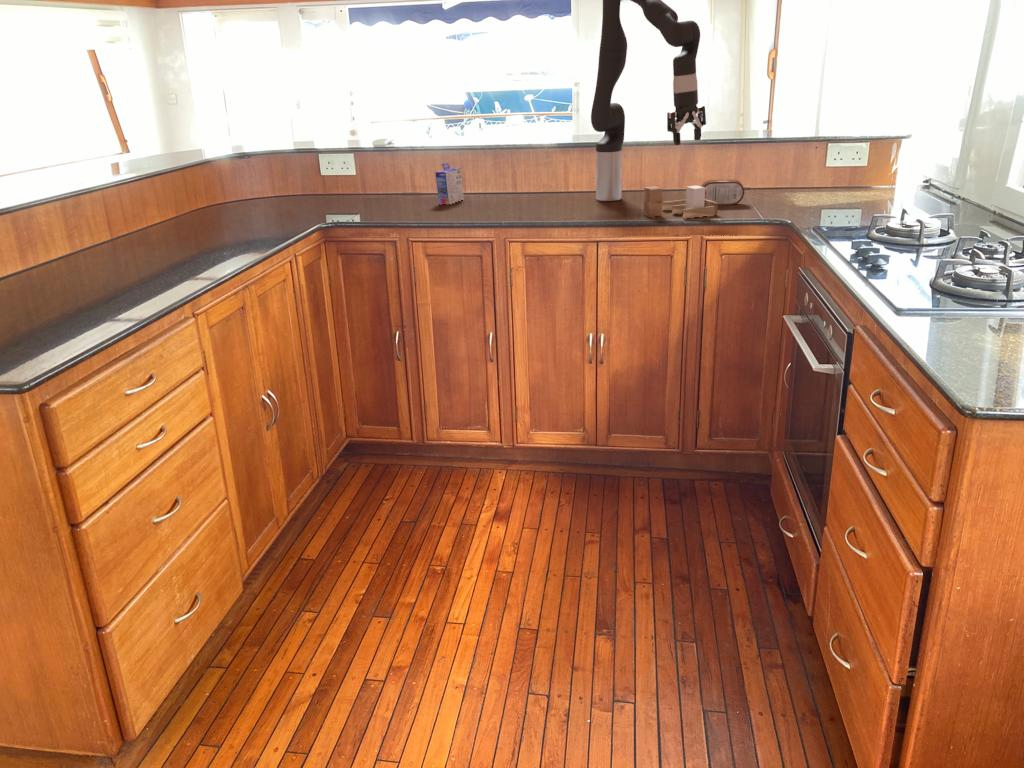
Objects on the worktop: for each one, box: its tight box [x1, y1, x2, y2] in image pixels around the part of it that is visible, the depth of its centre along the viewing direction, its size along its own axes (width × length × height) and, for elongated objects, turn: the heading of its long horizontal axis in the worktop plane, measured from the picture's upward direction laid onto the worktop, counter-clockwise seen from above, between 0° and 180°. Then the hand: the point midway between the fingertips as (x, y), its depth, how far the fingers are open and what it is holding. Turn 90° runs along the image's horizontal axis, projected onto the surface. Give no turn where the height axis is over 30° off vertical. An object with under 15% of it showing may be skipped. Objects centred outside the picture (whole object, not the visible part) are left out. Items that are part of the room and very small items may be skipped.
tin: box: [701, 179, 745, 206], centre depth 273 cm, size 15×3×8 cm, turn 84°
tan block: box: [643, 185, 663, 218], centre depth 261 cm, size 5×4×9 cm
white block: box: [685, 185, 705, 209], centre depth 259 cm, size 5×4×9 cm
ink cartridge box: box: [435, 162, 465, 206], centre depth 300 cm, size 10×6×14 cm, turn 148°
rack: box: [662, 199, 719, 220], centre depth 263 cm, size 15×12×4 cm
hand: (687, 142), depth 260 cm, fingers open, 8 cm apart
